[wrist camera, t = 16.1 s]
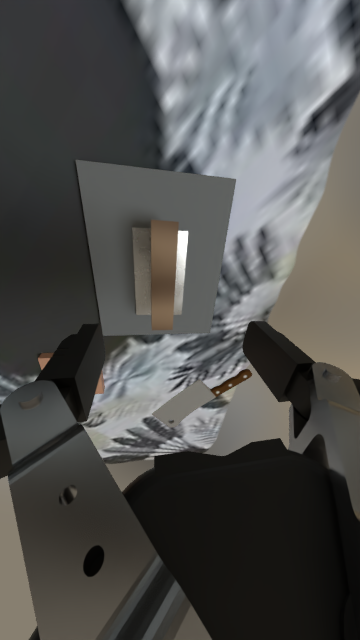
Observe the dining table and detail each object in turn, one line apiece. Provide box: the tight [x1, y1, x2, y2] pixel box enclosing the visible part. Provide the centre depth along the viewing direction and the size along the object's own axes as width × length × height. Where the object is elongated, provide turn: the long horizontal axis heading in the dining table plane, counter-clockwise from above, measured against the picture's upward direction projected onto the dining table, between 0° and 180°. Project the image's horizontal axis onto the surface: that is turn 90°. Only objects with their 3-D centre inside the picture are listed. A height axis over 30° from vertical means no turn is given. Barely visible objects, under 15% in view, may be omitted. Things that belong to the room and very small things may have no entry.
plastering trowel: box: [132, 220, 188, 330], centre depth 23 cm, size 13×7×7 cm, turn 176°
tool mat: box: [76, 160, 236, 336], centre depth 26 cm, size 18×22×1 cm
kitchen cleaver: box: [152, 369, 252, 427], centre depth 41 cm, size 24×1×10 cm
